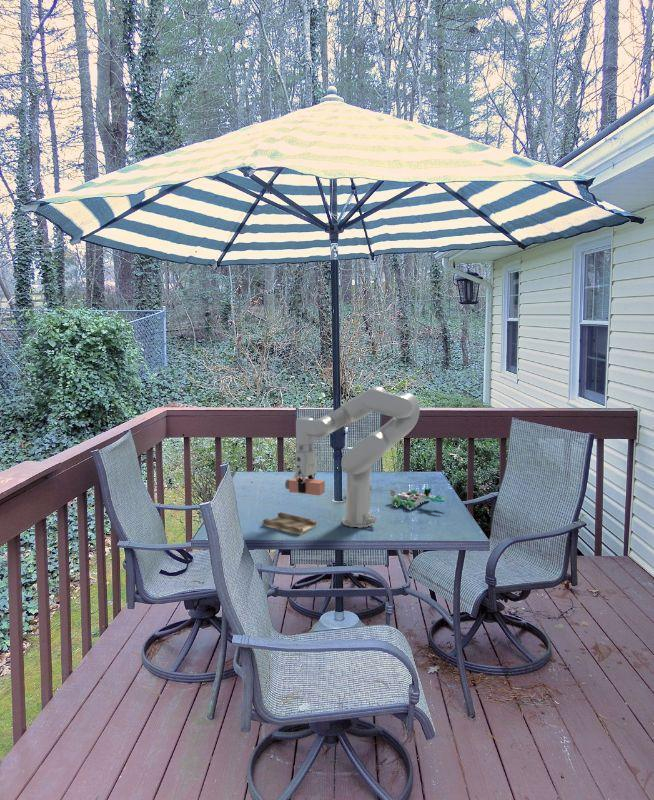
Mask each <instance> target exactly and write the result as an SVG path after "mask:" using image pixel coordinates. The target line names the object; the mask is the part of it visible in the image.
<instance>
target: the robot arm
mask: <svg viewBox="0 0 654 800" xmlns="http://www.w3.org/2000/svg"><path fill="white" fill-rule="evenodd" d="M420 407H421V406H420V402H419V400H418V398H417V397H416V396H415V395H414V394H412V393H410V392H408V393H407V392H405V393H401V394H400V395H398V394H393V393H390V392H387V390H386V389H385V388H384V387H383V386H379V385H378V386H377V385H375V386H373V387H370V388H368V389H367V390H365V391H364V392H361V393H360V394H358V395H356V396H355V397H352V398H351V399H349V400H347V401H346V402H344V403H343V405H341V406H340V407H338V408H337V409H335V410H333V411H332V412H329V413H327V414H326V415H324V416H321V417H319V418H317V419H314V418H312V417H310V416H308V417H307V416H303V417H297V419H296V420H295V442H296V443H295V444H296V448H295V450H296V453H295V462H294V463H295V464H294V465H295V469H294V470H295V473H294V476H293V478H295V479H296V480H297V483H298V492H301V493H300V494H302V493H305V483H304V481H305V478H306V477H307V479H315V480H316V478H315V477H316V474H317V472H318V457H317V452H316V448H315V446H316V442H315V438H320V439H321V438H323V439H324V438H325V437H327V436H329V435H330V434H332V433H334V432H336V431H338V430H339V429H341V428H342V427H344V426H346V425H349V424H350V423H353V422H354V423H355V422H356V421H359V420H361V419H362V418H364V417H367V416H368V415H369V414H372V413H377V414H379V415H384V416H387V417H392V418H390V419H389V421H387V422H386V423H385V424H383V425H382V426H381V427H380V428H377V430H375V431H373V432H371V433H369V435H367V436H366V437H365V438H364V439H362V440H361V441H359V443H357V444H356V445H354V446H353V447H352V448H351V449H349V450H348V451H347V452H345V453H344V455H342V458H341V463H340V464H341V465H340V466H341V469H342V471H343V472H344V473H345V474H346V494H345V495H346V498H345V501H346V502H345V504H346V505H345V516H343V518H342V519H341V523H342V524H343V525H344V526H346V527H348V526H349V528H353V527H358V528H357V529H363V527H364V528H368V526H369V527H371V526H372V525H373V524H375V525H377V524H378V516H377V517H376V516H373V512H371V511H370V507H371V506H370V505H371V490H370V486H371V479H372V478H371V477H372V475H371V474H372V469H371V468H373V467H372V466H373V465H374V464H375V463H376V462H377V461H379V460H381V458H382V457H383V456H385V455H386V454H387V453H388V452H389V451H390V449H391V448H392V447H394V446H395V445H396V444H397V443H398V442H400V441H401V440H402V439H403V438H405V437H406V436H407V435H408V434H410V432H411V431H412V430H413V429H414V428H415V426H416V424H417V423H418V420H419V417H420V412H421V411H420V409H421V408H420ZM301 478H302V479H301Z"/></svg>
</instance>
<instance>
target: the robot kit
mask: <svg viewBox="0 0 654 800" xmlns="http://www.w3.org/2000/svg"><path fill="white" fill-rule="evenodd" d="M431 490H432V488H431V486H430V487H429V486H427V487H424V492H422V493H419V492H418V491H417V490H416V489H411V490H410V491H409V490H404V491H401V492H400V493H398V494H397V493H396V489H395V488H392V489H390V492H389V496H391V499H390V500H391V501H390V502H391V505H392V506H393V505H395V504H396V505H397V506H400V505H401V506H402V505H404V506H403V507H404V508H405V507H409V508H413V507H414V508H417V507H418V506H419V505H421V504H423V503H425V502H426V500H427V499H430V500H431V502H436V503H445V501H448V497H446V496H443V495H439V494H437V495H433V494H432V495H431ZM424 499H425V500H424ZM430 500H429V501H430ZM424 501H425V502H424ZM422 502H423V503H422ZM420 503H421V504H420ZM417 505H418V506H417ZM401 506H400V507H401ZM414 508H413V509H414Z"/></svg>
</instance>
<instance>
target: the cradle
mask: <svg viewBox="0 0 654 800" xmlns="http://www.w3.org/2000/svg"><path fill="white" fill-rule="evenodd" d="M262 521H263V522H262V523H263V524H262V525H263V526H264V527H267V528H269V529H270V528H271V529H274V528H275V529H274V530H278V531H283V532H285V533H289V532H290V533H291V534H293V533H295V534H294V535H297V534H299V535H298V536H302V535H303V534H302V533H304V534H306V533H307V532H306V531H308V530H310V529H312V528H314V527H315V528H317V520H314V519H310V518H306V517H301V516H296V515H292V514H289V513H284V512H278V513H277V517H275V518H272V519H268V518H264V519H263V520H262ZM315 528H314V529H315ZM312 530H313V529H312ZM310 531H311V530H310ZM305 532H306V533H305ZM308 532H309V531H308ZM301 534H302V535H301Z"/></svg>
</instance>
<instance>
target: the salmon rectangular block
mask: <svg viewBox="0 0 654 800" xmlns="http://www.w3.org/2000/svg"><path fill="white" fill-rule="evenodd" d="M301 479H302V477H301ZM325 482H326V481H325V480H324V479H323V480H322V479H316V478H315V479H308V478H306V477H305V481H304V483H305V493H301V492H298V483H297V480H296V479H295V478H294V477H291V478H290V479H289V478H288V479H286V480H285V483H284V485H285V486H284V487H285V489H286V490H288V492H289V493H294V494H301V495H302V494H303V495H311V496H312V495H314V496H321V495H323V494H325V492H326V489H325V488H326V486H325V485H326V483H325Z"/></svg>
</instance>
